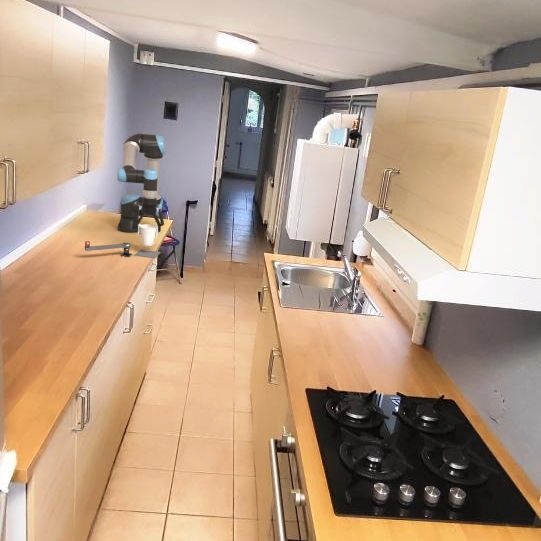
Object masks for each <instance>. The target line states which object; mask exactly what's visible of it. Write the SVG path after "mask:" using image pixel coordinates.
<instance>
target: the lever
mask: <svg viewBox="0 0 541 541" xmlns="http://www.w3.org/2000/svg"><path fill="white" fill-rule="evenodd" d="M90 242H91V241H89V240H86V241H84V251H86V252H90V251H91V252H92V251H102V250H114V249H124V248H129V249H130V248H131V246H132V245H131V243H130V242H123V243H116V244H115V243H114V244H113V243H112V244H103V245H92V246H91V243H90Z"/></svg>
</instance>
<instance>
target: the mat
mask: <svg viewBox="0 0 541 541" xmlns="http://www.w3.org/2000/svg"><path fill="white" fill-rule="evenodd" d="M160 254H161V251H155V250H149V249H148V250H147V249H139V250H138V251H137V252H136V253H135V254H134V255H133V256H134V257H140V258H141V257H143V258H149V259H156V258H157V257H158V256H159V255H160Z"/></svg>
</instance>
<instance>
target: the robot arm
mask: <svg viewBox="0 0 541 541" xmlns="http://www.w3.org/2000/svg"><path fill="white" fill-rule="evenodd" d="M123 151H124V153H123V160H122V167H121V168H117V175H116V176H117V177H116V178H117V179H116V180H117V181H118V182H119V183H120V182H121V183H129V184H130V183H131V184H142V185H143V187H142V189H143V190H142V197H140V195H139V194H126V195H123V196H122V197H121V199H120V200H121V201H120V219H119V222H118V224H117V230H118V231H119V232H121V233H131V234H132V233H137V236H138V237H139V236H141V229H140V225H142V223H141V221H142V220H143V219H144V217H145V216H147V217H153V219H154V220H155V223H156V226H157V229H156V235H155V239H158V238H159V237H160V236H159V234H160V232H161V231H162V230H161V229H162V227H163V226H164V225H165V221H164V216H163V213H162V211H163V203H164V200H163V198H162V196H161V195H160V194H159V192H160V190H159V189H160V178H161V177H160V176H161V175H160V174H161V170H160V169H161V160H162V159H163V157H164V156H165V155H166V144H165V137H164V136H162V135H158V134H147V133H134V134H133V135H130V136H129V137H128V138H126V140H125V141H124V143H123ZM139 153H141V154H143V156H144V157H145V159H146V164H145V165H146V166H145V169H137V161H138V154H139Z"/></svg>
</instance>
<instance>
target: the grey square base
mask: <svg viewBox="0 0 541 541" xmlns="http://www.w3.org/2000/svg"><path fill="white" fill-rule="evenodd" d="M119 256H120V257H123V256H124V257H125V258H131V257H132V256H133V253H130V248H123V252H122V253H121V254H120V255H119Z"/></svg>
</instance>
